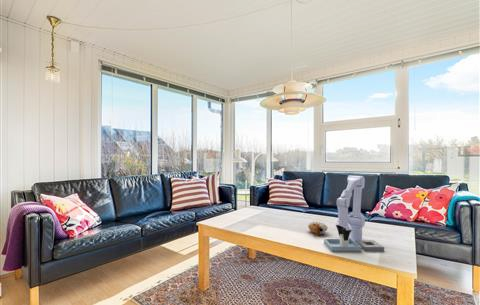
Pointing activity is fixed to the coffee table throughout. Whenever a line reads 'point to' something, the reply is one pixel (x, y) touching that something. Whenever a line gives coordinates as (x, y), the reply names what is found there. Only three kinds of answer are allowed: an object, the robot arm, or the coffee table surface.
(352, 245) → the tray
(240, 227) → the coffee table surface
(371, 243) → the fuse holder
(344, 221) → the robot arm
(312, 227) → the nautilus
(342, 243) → the fuse
